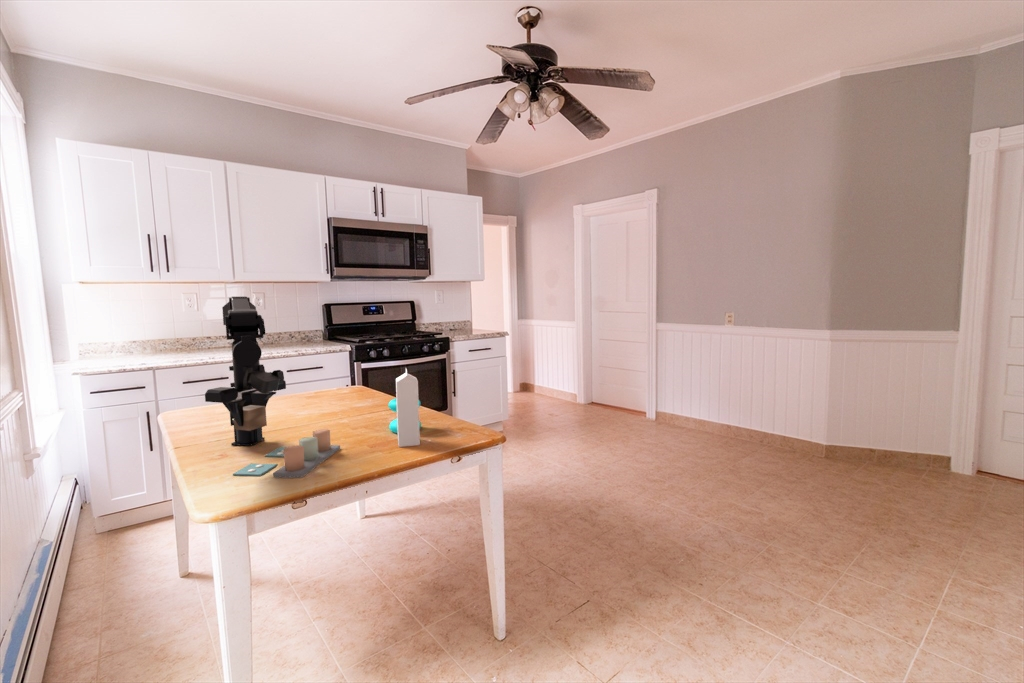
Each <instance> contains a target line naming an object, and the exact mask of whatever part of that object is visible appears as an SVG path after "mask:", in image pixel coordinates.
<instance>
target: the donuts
mask: <svg viewBox="0 0 1024 683" xmlns="http://www.w3.org/2000/svg"><path fill="white" fill-rule="evenodd" d="M421 404H422V403H421V400H420V399H419V408H420V407H421ZM388 408H389V410H391V411H392V412H395V413H397V402H396V398H393V399H391V400H390V401H389V402H388ZM421 427H422V423H421V421H420V420H419V430H420V429H421ZM388 428H389V430H390V431H391V432H392V433H394V434H398V431H397V418H395V419H393V420H392V421H390V423H389V427H388Z"/></svg>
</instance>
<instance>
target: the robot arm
mask: <svg viewBox="0 0 1024 683" xmlns="http://www.w3.org/2000/svg"><path fill="white" fill-rule="evenodd" d="M221 308H222V321H223V326H225V333H226V335H225V336H226V340H231V341H232V340H233V341H232V343H231V356H232V365H231V366H230V365H229V367H228V368H229V371H231V372H232V371H233V372H232V373H233V382H230V384H229V385H230V387H229V386H227V387H226V386H220V387H214V388H209V389H207V390H206V392H205V394H204V401H205V402H207V403H218V404H219V403H221V404H222V405H223V406H224V407H225V408H226V409H227V411H228V412H229V418H230V419H229V420H230V426H231V427H234V419H235V421H236V422H237V424H238V426H243V422H244V418H243V407H245V406H249V405H256V406H265V407H267V404H268V402H269V400H270V399H271V398H272V397H273V396H274V395H276V394H277V391H281V390H285V389H287V386H286V385H287V383H286V380H285V374H284V371H282V370H280V369H277V370H275V369H274V370H273V371H269V372H267V371H266V369H265V366H264V364H263V363H262V364H260V359H261V357H262V352H263V351H262V349H261V347H260V345H259V341H257V339H264V336H265V335H266V326H265V321H264V318H263V317H262V315H261V314H259V313H258V310H257V306H256V305H254V304H253V303H252V302H251V300H250V297H248V296H231V297H228V302H227V303H225V304H224V305H223V306H222V307H221ZM233 434H234V436H233V437H234V442H231V444H230V445H231V446H248V447H251V446H254V445H255V444H257V443H259V442H261V441H264V440H265V436H263V427H260V428H257V429H254V430H251V431H246V430H236V429H234V428H233Z"/></svg>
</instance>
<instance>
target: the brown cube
mask: <svg viewBox="0 0 1024 683" xmlns="http://www.w3.org/2000/svg"><path fill="white" fill-rule="evenodd" d="M266 407H267V406H266ZM266 407H265V406H256V405H249V406H245V407H243V418H244V422H243V426H238V424H237V422H236V421H235V419H233V420H234V425H233V430H234V429H236V430H246V431H251V430H254V429H257V428H260V427H262V428H263V427H266V426H267V422H268V421H267V412H266V411H267V408H266Z"/></svg>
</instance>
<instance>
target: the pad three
mask: <svg viewBox="0 0 1024 683" xmlns="http://www.w3.org/2000/svg"><path fill="white" fill-rule="evenodd" d="M286 447H287V446H279V447H277V448H275V449H273V450H272V451H270V452H268V453H266V454H265V458H284V449H285V448H286Z"/></svg>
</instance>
